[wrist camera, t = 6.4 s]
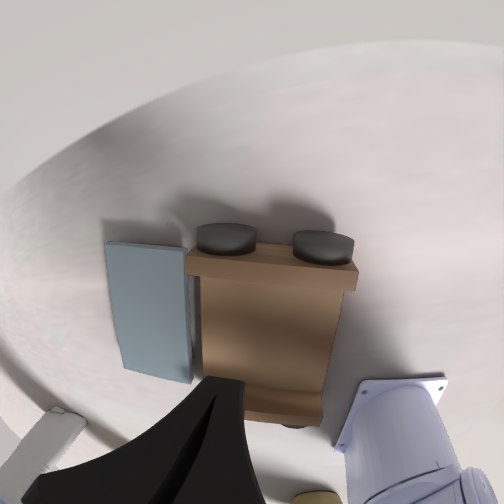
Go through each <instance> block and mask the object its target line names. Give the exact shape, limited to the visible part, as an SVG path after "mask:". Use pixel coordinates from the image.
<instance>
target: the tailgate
mask: <svg viewBox="0 0 504 504" xmlns="http://www.w3.org/2000/svg"><path fill="white" fill-rule="evenodd" d="M104 246H105V257H106V266H107V275H108V283H109V291H110V298H111V304H112V311H113V316H114V322H115V328H116V333H117V338H118V343H119V348H120V352H121V357H122V361H123V366H124V368H125V369H129V370H132V371H136V372H139V373H143V374H147V375H151V376H155V377H159V378H163V379H167V380H172V381H176V382H181V383H186V384H190V385H191V383H192V381H193V378H194V374H193V361H192V347H191V330H190V310H189V282H188V275H185V255H186V254H187V253H188V248H181V247H170V246H159V245H149V244H138V243H127V242H116V241H110V242H108V243H106V244H104Z"/></svg>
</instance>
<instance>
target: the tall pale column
mask: <svg viewBox="0 0 504 504" xmlns="http://www.w3.org/2000/svg"><path fill="white" fill-rule="evenodd" d="M86 424H87V420H86V419H85V418H84V417H82V416H80V415H79V414H76V413H72V412H68V411H65V410H63V409H62V408H60V407H57V406H54V407H53V409H52V410H48V411H47V412H46V413H45V414H44V415H43V416H42V417H41V418H40V420H39V421H38V422H37V423H36V424H35V425H34V426H33V428H32V429H31V430H30V431H29V432H28V433H27V435H26V436H25V437H24V438H23V439H22V441H21V442H20V444H19V445H18V447H17V448H16V450H15V451H14V452H13V454H12V455H11V456H10V457H9V459H8V460H7V461H6V462H5V463H4V464H3V465H2V467H1V468H0V495H2V496H3V497H4V498H5V499H6V500H7V501H8V502H9V503H11V504H22V503H21V498H22V497H23V495H24V494H25V492H26V491H27V490H28V488H29V487H30V486H31V484H32V483H33V481H34V480H35V479H36V478H37V477H38V476H39V475H40V474H44V473H48V472H49V471H50V469H51V468H52V467H53V466H54V465H55V464H56V463H57V462H58V461H59V460H60V459H61V458H62V456H63V455H64V454H65V452H66V451H67V450H68V448H69V447H70V446H71V444H72V443H73V442H74V440H75V439H76V438H77V436H78V435H79V434H80V432H81V431H82V430H83V428H84V427H85V426H86Z"/></svg>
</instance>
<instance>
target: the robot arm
mask: <svg viewBox="0 0 504 504" xmlns="http://www.w3.org/2000/svg"><path fill="white" fill-rule="evenodd" d="M447 384H448V379H447V378H446V377H436V378H421V379H398V380H365V381H362V382H361V383H360V385H359V388H358V391H357V393H356V396H355V399H354V402H353V404H352V407H351V409H350V412H349V414H348V417H347V419H346V422H345V424H344V427H343V429H342V432H341V434H340V436H339V438H338V441H337V443H336V445H335V447H334V452H335V453H338V454H341V453H344V456H345V468H346V481H347V496H348V503H349V504H498V502H497V499H496V496H495V493H494V491H493V489H492V486H491V484H490V482H489V480H488V478H487V477H486V475H485V473H484V472H483V471H482V470H481V469H477V468H473V467H468V468H467V469H466V470H464V471H463V470H462V469H461V467H460V464H459V462H458V459H457V456H456V454H455V451H454V449H453V446H452V444H451V441H450V439H449V436H448V434H447V431H446V429H445V427H444V424H443V422H442V420H441V417H440V415H439V413H438V410H437V408H436V404H437V403H438V401H439V399H440V397H441V395H442V393H443V391H444V389H445V388H446V386H447ZM245 386H246V383H245V382H243V381H242V380H235V379H228V378H221V377H214V376H206V377H205V378H204V379H203V380H202V381H201V382H200V383H199V384H198V385H197V386H196V388H195V389H194V390H193V391H192V392H191V393H190V394H189V395H188V396H187V397H186V398H185V399H184V400H183V401H182V402H181V403H179V404H178V405H177V406H176V407H175V408H174V409H173V410H172V411H171V412H170V413H168V414H167V415H166V416H165V417H164V418H162V419H161V420H160V421H159V422H157V423H156V424H155V425H153V426H152V427H151V428H150V429H148V430H147V431H145V432H144V433H142V434H141V435H139V436H138V437H136V438H135V439H133V440H131V441H130V442H128V443H126V444H125V445H123V446H121V447H119V448H117V449H115V450H113V451H111V452H109V453H107V454H105V455H103V456H101V457H98V458H96V459H93V460H90V461H88V462H85V463H82V464H80V465H77V466H74V467H70V468H66V469H62V470H58V471H54V472H49V473H44V474H40V475H39V476H38V477H37V478H36V479H35V480H34V481H33V483H32V484H31V486H30V487H29V488H28V490H27V491H26V492H25V494H24V495H23V497H22V498H21V503H22V504H266V503H265V500H264V498H263V495H262V493H261V490H260V488H259V485H258V482H257V479H256V476H255V473H254V469H253V466H252V462H251V459H250V454H249V450H248V445H247V440H246V435H245V428H244V416H245ZM364 390H366V391H364ZM0 504H11V503H9V502H8V501H7V500H6V499H5V498H4V497H3V496H2V495H0Z"/></svg>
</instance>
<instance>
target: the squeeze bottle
mask: <svg viewBox="0 0 504 504" xmlns="http://www.w3.org/2000/svg"><path fill="white" fill-rule="evenodd" d="M290 504H343V503H342V501H341V499H340V497H339V495H337V494H336V493H332V492H325V491H317V492H308V493H304V494H300V495H298V496H296V497H294V498H293V500H292V501H291V503H290Z"/></svg>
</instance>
